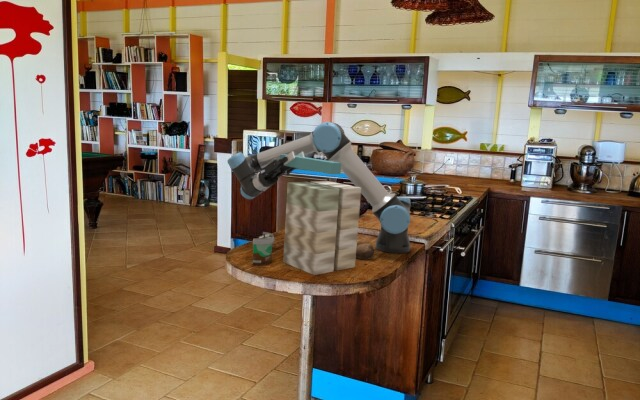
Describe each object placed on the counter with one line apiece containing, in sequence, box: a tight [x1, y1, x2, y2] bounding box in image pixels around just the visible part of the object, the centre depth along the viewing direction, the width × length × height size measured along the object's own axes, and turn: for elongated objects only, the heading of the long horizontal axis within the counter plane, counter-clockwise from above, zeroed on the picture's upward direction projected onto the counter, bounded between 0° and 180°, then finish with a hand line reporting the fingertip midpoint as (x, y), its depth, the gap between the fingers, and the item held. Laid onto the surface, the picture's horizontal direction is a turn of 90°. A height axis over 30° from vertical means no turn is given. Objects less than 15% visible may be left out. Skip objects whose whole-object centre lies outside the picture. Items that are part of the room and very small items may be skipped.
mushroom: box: [356, 242, 375, 261], centre depth 202 cm, size 8×8×6 cm
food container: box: [252, 231, 276, 266], centre depth 186 cm, size 12×6×10 cm, turn 168°
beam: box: [280, 154, 342, 176], centre depth 184 cm, size 30×4×4 cm, turn 41°
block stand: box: [282, 180, 362, 276], centre depth 186 cm, size 18×20×30 cm
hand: (298, 154), depth 188 cm, fingers closed on beam, 4 cm apart
